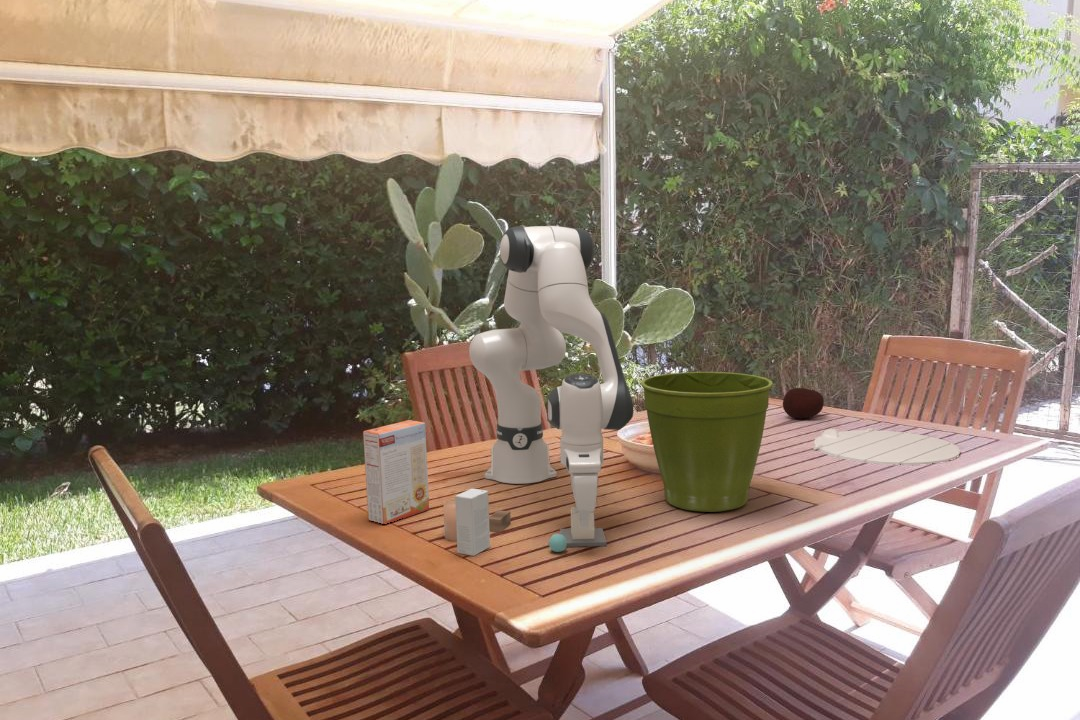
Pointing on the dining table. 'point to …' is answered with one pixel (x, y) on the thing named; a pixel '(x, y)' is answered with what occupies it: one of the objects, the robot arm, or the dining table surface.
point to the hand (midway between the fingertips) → (582, 519)
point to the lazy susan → (885, 447)
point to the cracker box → (396, 471)
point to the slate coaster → (597, 541)
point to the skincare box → (472, 521)
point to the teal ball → (557, 542)
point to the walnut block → (499, 521)
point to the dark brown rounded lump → (802, 403)
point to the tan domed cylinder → (450, 521)
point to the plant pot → (706, 435)
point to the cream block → (579, 531)
